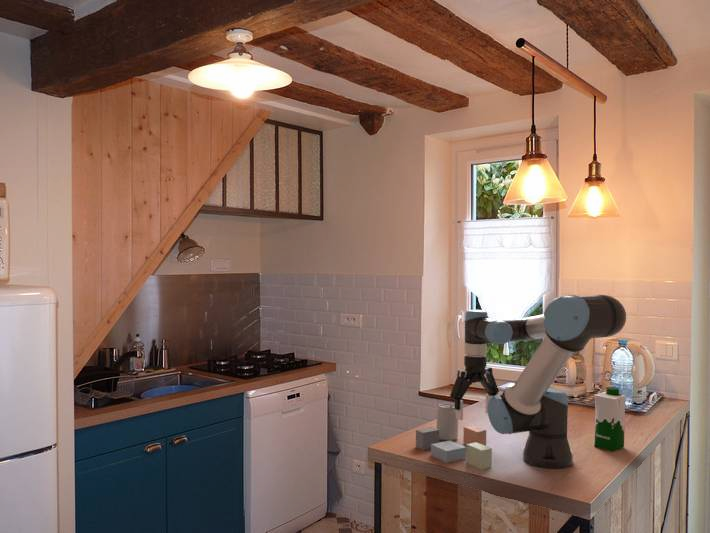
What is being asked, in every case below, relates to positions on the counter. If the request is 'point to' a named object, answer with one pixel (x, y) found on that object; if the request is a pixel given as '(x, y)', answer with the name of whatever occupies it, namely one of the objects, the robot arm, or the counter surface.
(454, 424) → the can
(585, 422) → the counter surface
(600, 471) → the counter surface
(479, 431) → the terracotta brick
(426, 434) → the charcoal brick
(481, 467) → the sage brick
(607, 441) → the milk carton
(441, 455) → the slate blue brick
